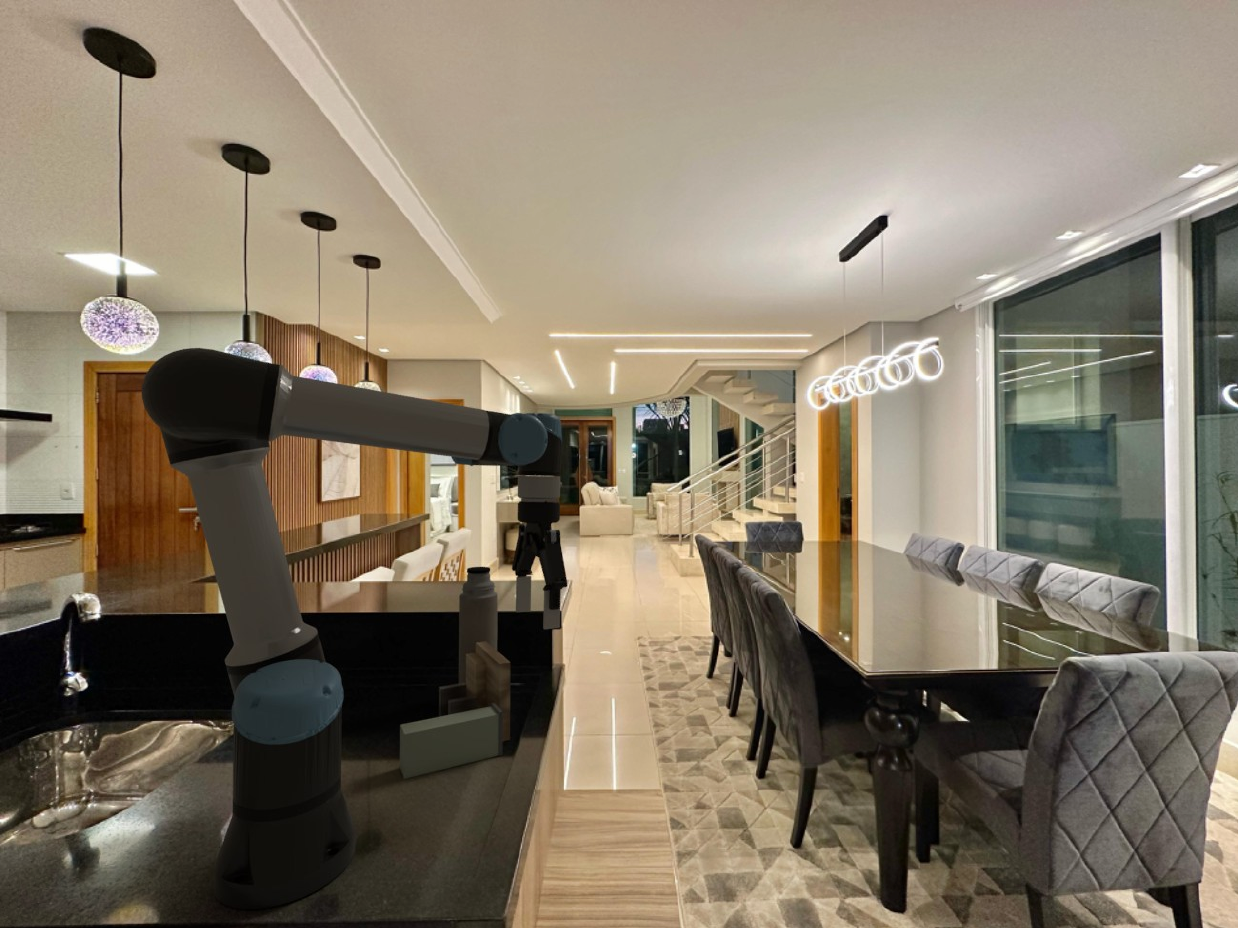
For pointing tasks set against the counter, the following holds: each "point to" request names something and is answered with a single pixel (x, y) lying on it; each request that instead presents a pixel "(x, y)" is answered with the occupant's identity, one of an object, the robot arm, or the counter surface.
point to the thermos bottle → (476, 615)
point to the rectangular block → (450, 740)
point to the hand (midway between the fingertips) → (536, 619)
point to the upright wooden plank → (480, 686)
